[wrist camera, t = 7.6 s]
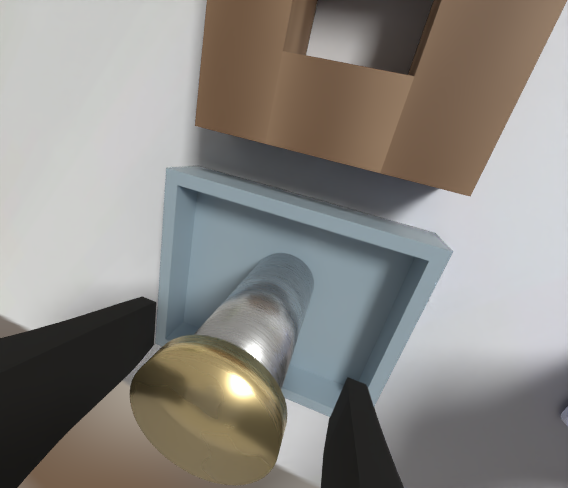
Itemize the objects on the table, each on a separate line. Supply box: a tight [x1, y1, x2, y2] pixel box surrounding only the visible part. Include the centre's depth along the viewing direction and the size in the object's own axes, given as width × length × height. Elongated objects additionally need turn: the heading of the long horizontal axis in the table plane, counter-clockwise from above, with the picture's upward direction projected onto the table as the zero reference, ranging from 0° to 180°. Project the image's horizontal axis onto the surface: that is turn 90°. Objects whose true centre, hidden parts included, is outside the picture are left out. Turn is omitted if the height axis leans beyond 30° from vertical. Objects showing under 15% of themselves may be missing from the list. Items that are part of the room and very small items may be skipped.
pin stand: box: [195, 0, 567, 196], centre depth 9 cm, size 10×10×3 cm
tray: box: [155, 166, 453, 417], centre depth 14 cm, size 12×10×2 cm
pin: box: [130, 253, 314, 485], centre depth 10 cm, size 4×4×8 cm
